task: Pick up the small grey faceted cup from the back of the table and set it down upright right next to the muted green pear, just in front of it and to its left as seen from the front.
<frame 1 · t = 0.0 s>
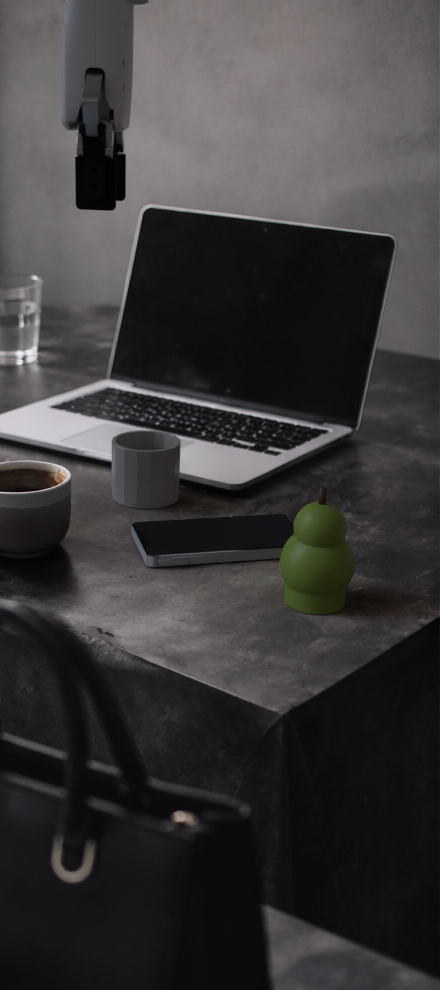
hand: (102, 204, 83), 29 cm above the table, tool pointing down, fingers open, 9 cm apart
smartphone: (219, 547, 89), on the table
pear: (314, 600, 80), on the table
grey faceted cup: (145, 496, 100), on the table
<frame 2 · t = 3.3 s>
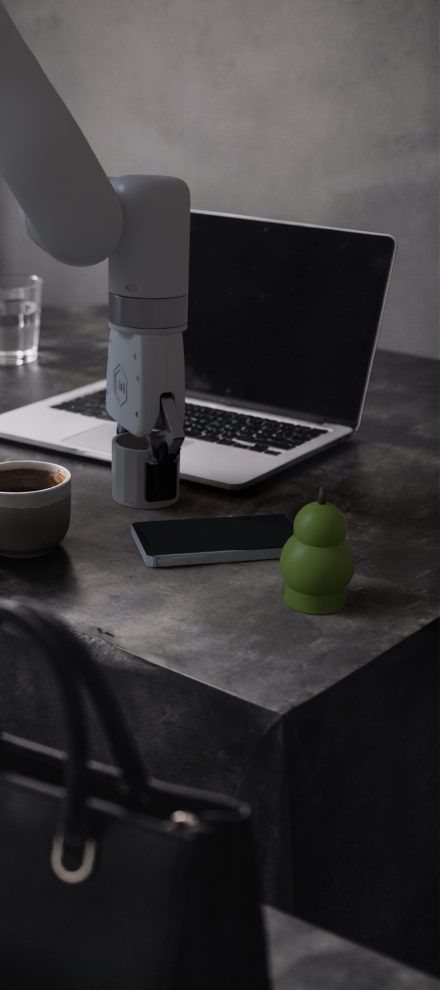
hand: (146, 485, 99), 1 cm above the table, tool pointing down, fingers closed on grey faceted cup, 6 cm apart
grey faceted cup: (145, 496, 100), on the table, touching gripper
everything else where it was.
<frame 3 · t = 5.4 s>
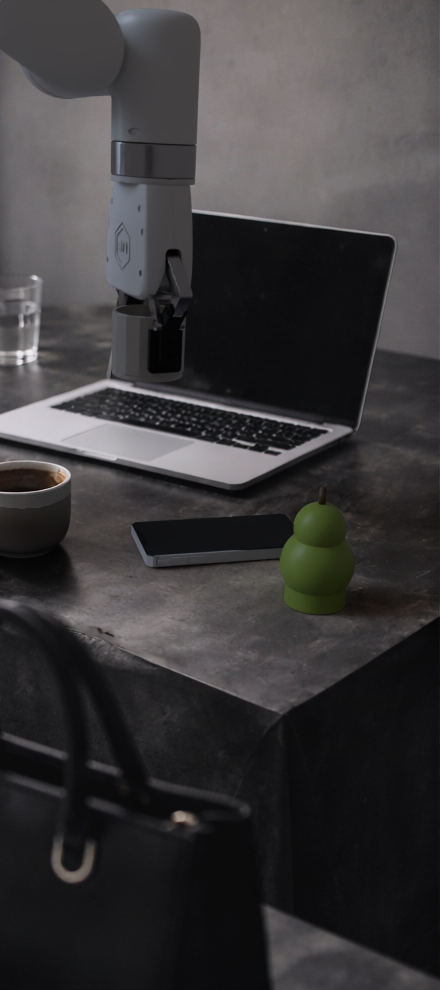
hand: (148, 361, 93), 14 cm above the table, tool pointing down, fingers closed on grey faceted cup, 6 cm apart
grey faceted cup: (147, 373, 93), point 13 cm above the table, touching gripper
everything else where it was.
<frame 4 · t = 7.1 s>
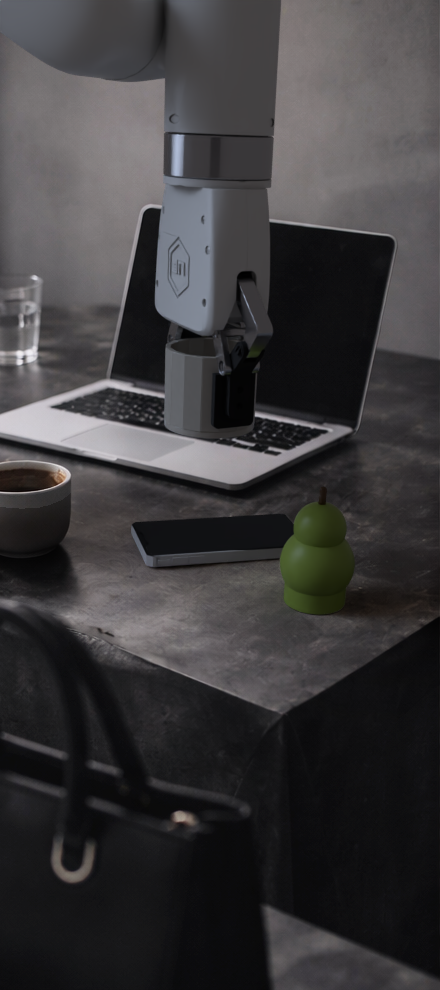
hand: (209, 410, 74), 16 cm above the table, tool pointing down, fingers closed on grey faceted cup, 6 cm apart
grey faceted cup: (209, 425, 74), point 15 cm above the table, touching gripper
everything else where it was.
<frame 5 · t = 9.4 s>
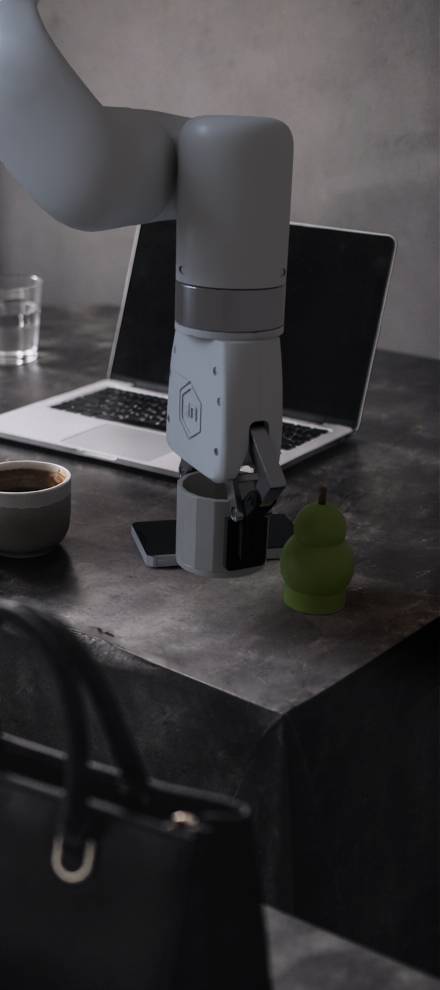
hand: (221, 544, 73), 6 cm above the table, tool pointing down, fingers closed on grey faceted cup, 6 cm apart
grey faceted cup: (221, 559, 74), point 5 cm above the table, touching gripper
everything else where it was.
when the fingers open (1 cm above the table, at t = 11.2 s): grey faceted cup stays where it is, on the table.
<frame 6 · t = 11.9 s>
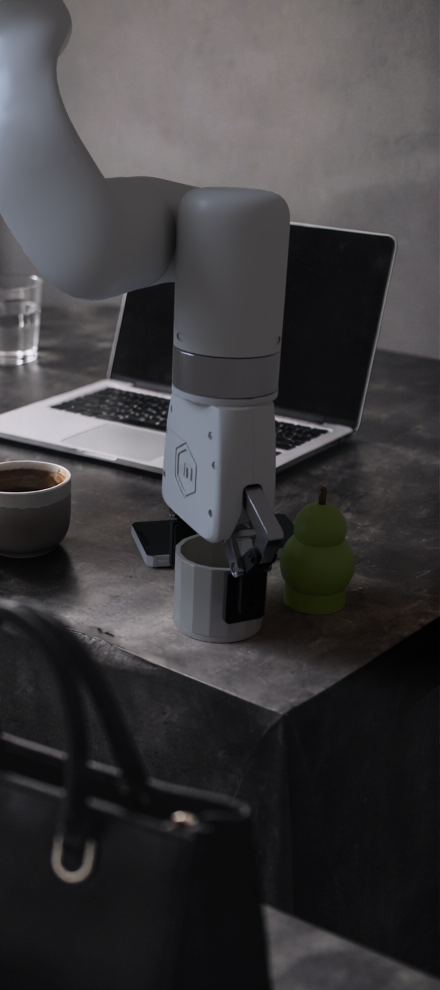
hand: (214, 590, 75), 3 cm above the table, tool pointing down, fingers open, 9 cm apart
grey faceted cup: (217, 621, 76), on the table
everything else where it was.
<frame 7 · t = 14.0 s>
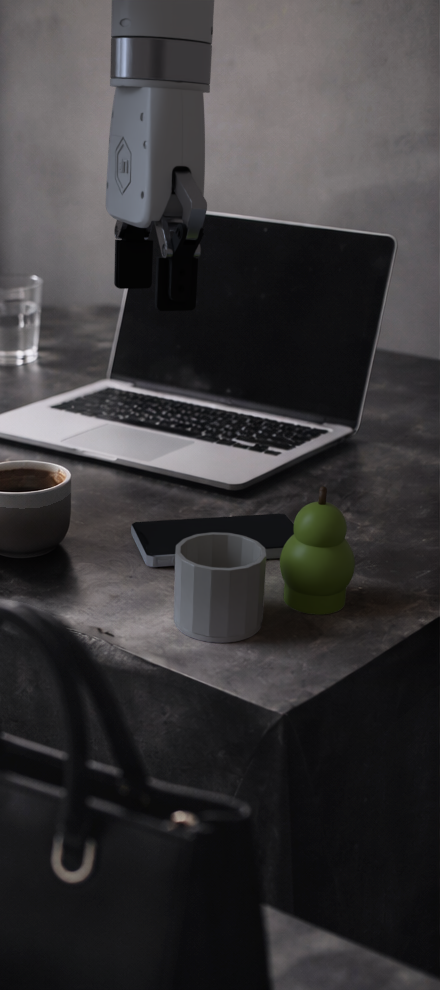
hand: (152, 298, 79), 22 cm above the table, tool pointing down, fingers open, 9 cm apart
nothing on the table moved.
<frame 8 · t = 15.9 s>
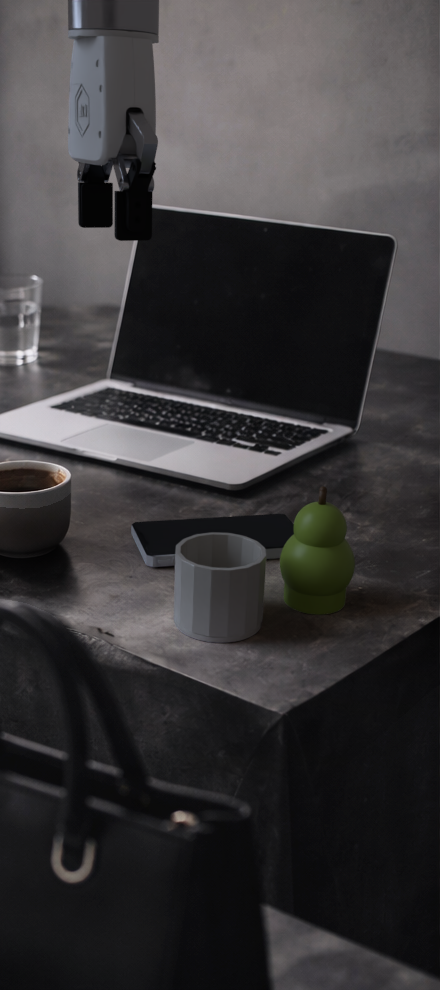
hand: (113, 233, 87), 26 cm above the table, tool pointing down, fingers open, 9 cm apart
nothing on the table moved.
at the end: grey faceted cup inside the target area on the table beside the pear (0.1 cm from its centre), on the table; grey faceted cup tilted 0°; pear moved 0.0 cm from its start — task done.
